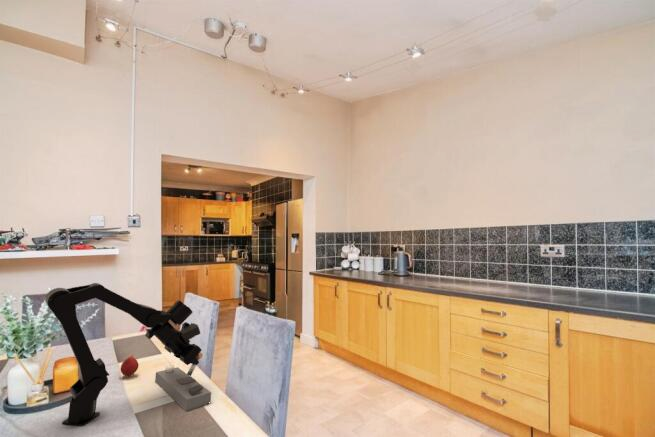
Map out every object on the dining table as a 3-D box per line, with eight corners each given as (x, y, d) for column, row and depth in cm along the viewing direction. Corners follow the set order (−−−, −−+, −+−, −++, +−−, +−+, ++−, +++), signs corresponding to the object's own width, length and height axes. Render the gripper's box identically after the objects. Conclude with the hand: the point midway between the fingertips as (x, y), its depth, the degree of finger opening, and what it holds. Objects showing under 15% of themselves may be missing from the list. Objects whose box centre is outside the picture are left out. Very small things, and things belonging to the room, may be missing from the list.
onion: (128, 380, 121) (131, 358, 122) (115, 378, 122) (118, 356, 123) (140, 375, 127) (142, 353, 127) (128, 373, 128) (130, 352, 129)
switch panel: (185, 411, 102) (186, 398, 102) (155, 381, 121) (156, 371, 122) (210, 403, 107) (211, 391, 108) (177, 376, 127) (177, 366, 127)
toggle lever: (187, 375, 115) (199, 352, 118) (184, 373, 117) (196, 350, 120) (193, 376, 116) (204, 354, 120) (190, 374, 118) (201, 352, 121)
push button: (166, 373, 121) (167, 368, 121) (164, 371, 123) (164, 366, 123) (175, 371, 123) (175, 366, 123) (172, 369, 125) (172, 364, 125)
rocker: (191, 394, 105) (191, 391, 104) (188, 392, 106) (188, 389, 106) (202, 389, 107) (202, 386, 107) (199, 387, 109) (199, 384, 109)
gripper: (198, 322, 110) (225, 350, 117) (177, 312, 123) (202, 338, 130) (171, 350, 104) (201, 378, 110) (152, 336, 117) (179, 362, 123)
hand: (196, 362), depth 119 cm, fingers closed on toggle lever, 2 cm apart
